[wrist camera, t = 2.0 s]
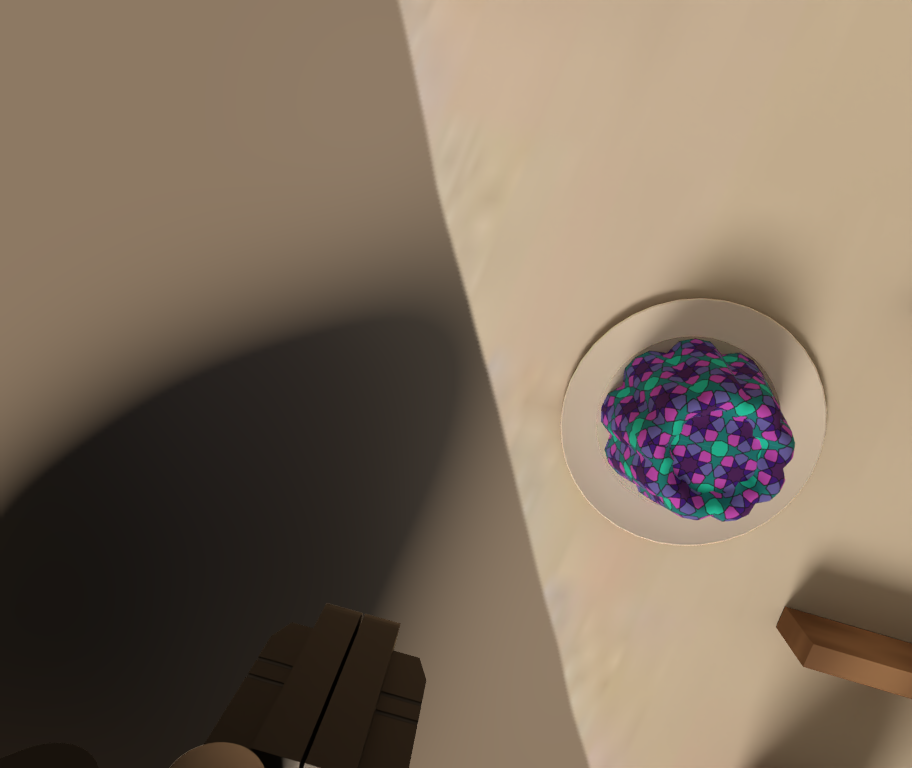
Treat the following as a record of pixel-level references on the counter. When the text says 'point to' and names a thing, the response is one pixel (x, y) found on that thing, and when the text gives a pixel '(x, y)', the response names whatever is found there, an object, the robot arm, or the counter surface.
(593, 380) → the pudding
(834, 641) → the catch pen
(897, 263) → the counter surface
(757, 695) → the counter surface
